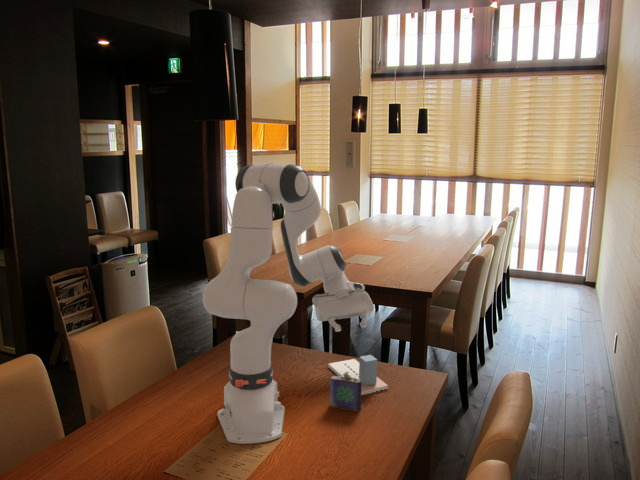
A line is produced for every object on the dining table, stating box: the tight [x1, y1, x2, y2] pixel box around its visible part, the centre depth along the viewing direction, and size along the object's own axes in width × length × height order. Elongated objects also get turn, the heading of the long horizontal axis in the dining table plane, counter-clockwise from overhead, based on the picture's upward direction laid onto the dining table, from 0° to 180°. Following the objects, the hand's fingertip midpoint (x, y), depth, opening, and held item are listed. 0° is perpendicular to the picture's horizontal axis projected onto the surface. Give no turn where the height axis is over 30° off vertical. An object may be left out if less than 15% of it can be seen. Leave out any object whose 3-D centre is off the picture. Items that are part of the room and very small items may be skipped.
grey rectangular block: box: [358, 354, 378, 386], centre depth 166 cm, size 4×4×8 cm
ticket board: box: [327, 358, 389, 396], centre depth 173 cm, size 22×10×1 cm, turn 25°
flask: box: [329, 372, 362, 412], centre depth 154 cm, size 9×3×11 cm, turn 73°
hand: (351, 328), depth 174 cm, fingers open, 8 cm apart
